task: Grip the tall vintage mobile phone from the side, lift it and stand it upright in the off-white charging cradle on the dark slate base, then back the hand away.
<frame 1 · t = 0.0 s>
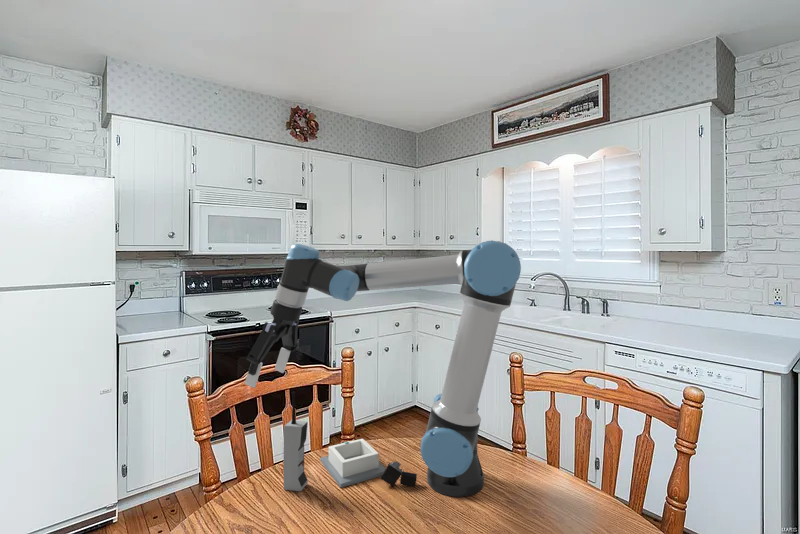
hand: (265, 377, 108), 28 cm above the table, tool tilted 20°, fingers open, 13 cm apart
charging cradle: (353, 467, 116), on the table
vintage mobile phone: (295, 487, 106), on the table
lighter: (398, 485, 108), on the table
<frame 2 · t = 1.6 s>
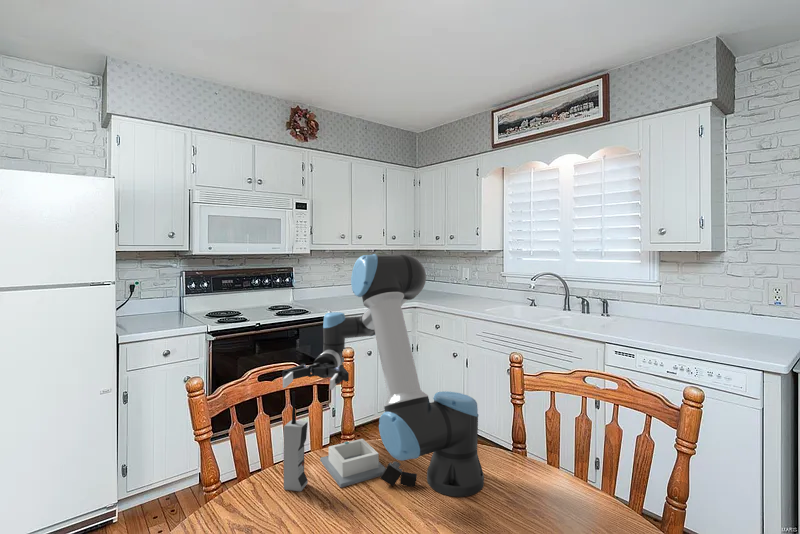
hand: (307, 384, 115), 24 cm above the table, tool horizontal, fingers open, 13 cm apart
nothing on the table moved.
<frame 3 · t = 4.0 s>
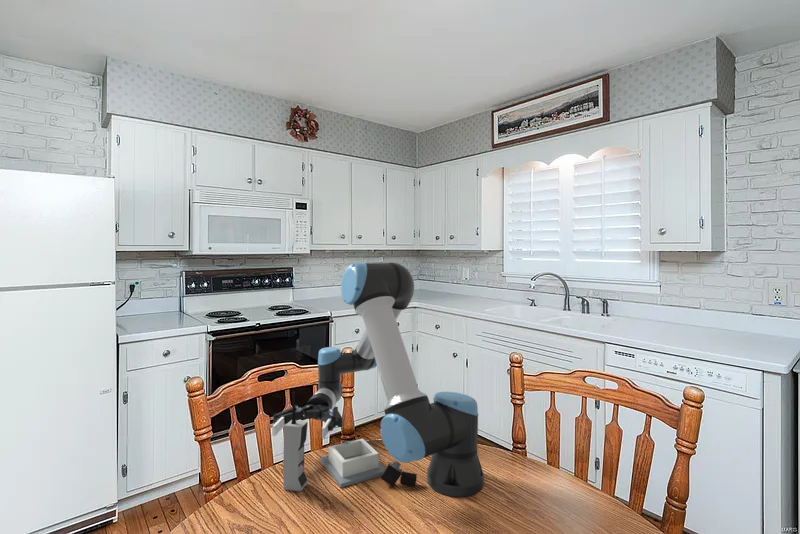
hand: (298, 432, 109), 13 cm above the table, tool horizontal, fingers open, 13 cm apart
nothing on the table moved.
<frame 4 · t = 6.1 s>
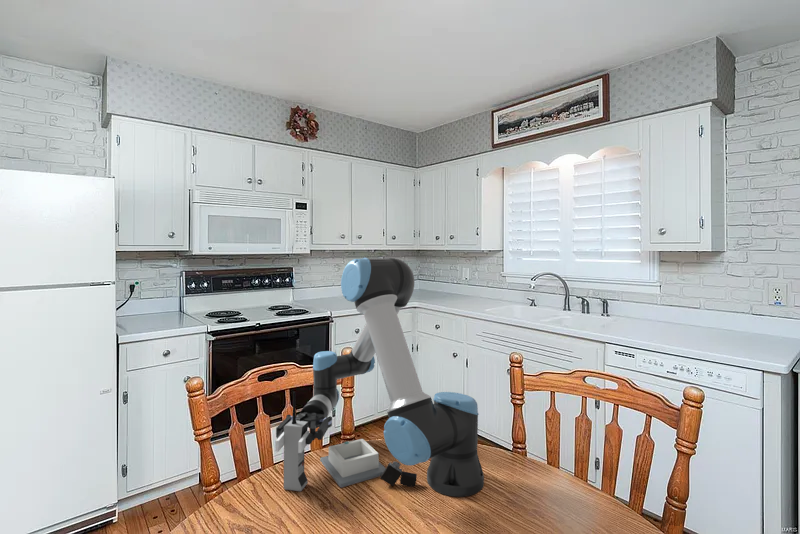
hand: (288, 446, 101), 13 cm above the table, tool horizontal, fingers closed on vintage mobile phone, 5 cm apart
vintage mobile phone: (295, 487, 106), on the table, touching gripper
everything else where it was.
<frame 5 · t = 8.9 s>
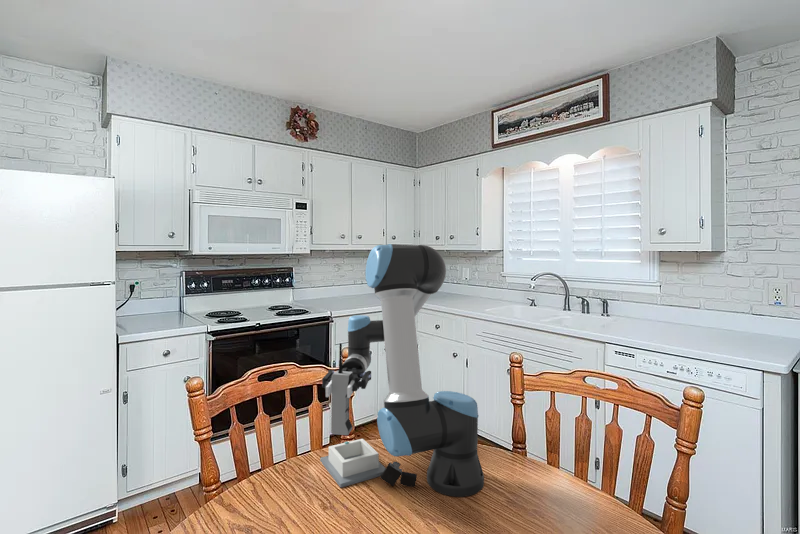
hand: (337, 392, 109), 24 cm above the table, tool horizontal, fingers closed on vintage mobile phone, 5 cm apart
vintage mobile phone: (341, 432, 114), point 11 cm above the table, touching gripper
everything else where it was.
when the fingers open (15 cm above the table, at t = 11.7 s): vintage mobile phone drops 1 cm, resting on charging cradle.
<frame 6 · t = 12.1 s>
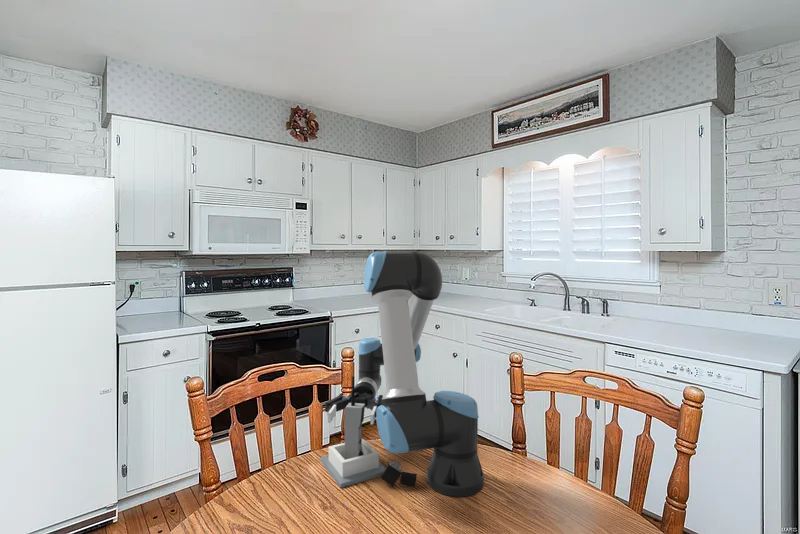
hand: (350, 418, 112), 15 cm above the table, tool horizontal, fingers open, 11 cm apart
vintage mobile phone: (354, 464, 117), point 1 cm above the table, touching charging cradle
everything else where it was.
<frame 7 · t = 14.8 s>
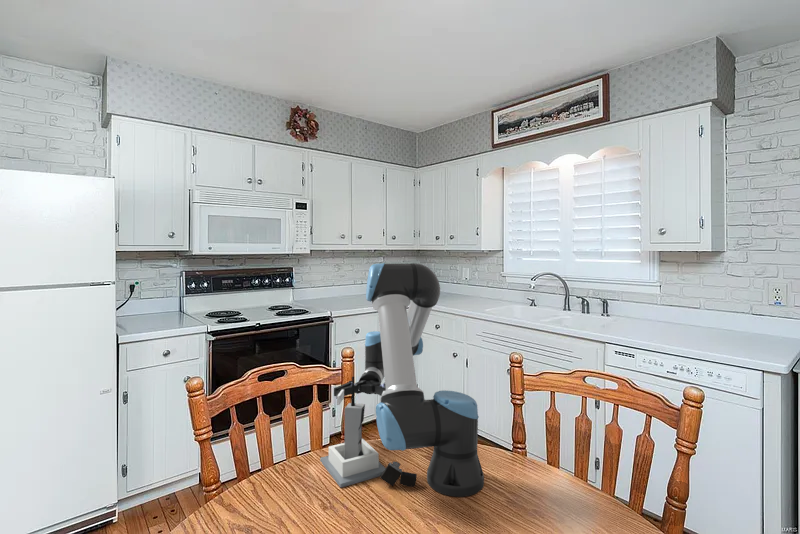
hand: (359, 401, 126), 16 cm above the table, tool horizontal, fingers open, 13 cm apart
nothing on the table moved.
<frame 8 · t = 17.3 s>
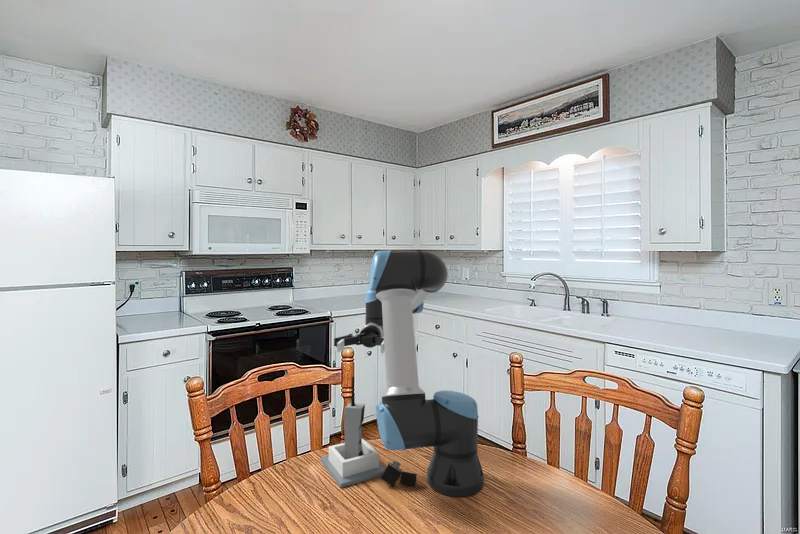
hand: (360, 348, 125), 32 cm above the table, tool horizontal, fingers open, 13 cm apart
nothing on the table moved.
at the end: vintage mobile phone 0.4 cm off-centre on the charging cradle, point 0.8 cm above the charging cradle's base; vintage mobile phone tilted 0°; the gripper is holding nothing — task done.
